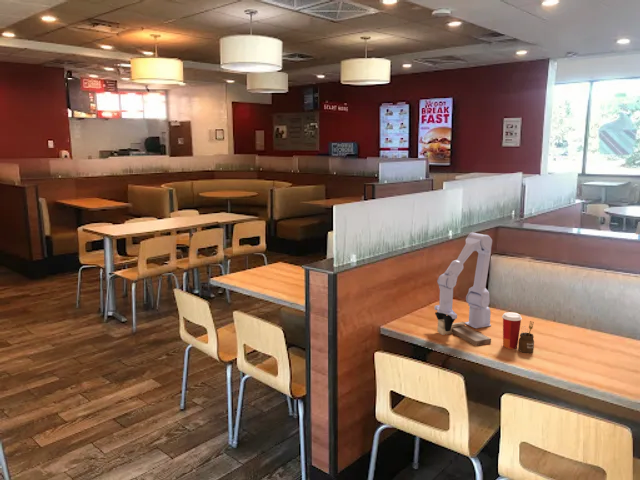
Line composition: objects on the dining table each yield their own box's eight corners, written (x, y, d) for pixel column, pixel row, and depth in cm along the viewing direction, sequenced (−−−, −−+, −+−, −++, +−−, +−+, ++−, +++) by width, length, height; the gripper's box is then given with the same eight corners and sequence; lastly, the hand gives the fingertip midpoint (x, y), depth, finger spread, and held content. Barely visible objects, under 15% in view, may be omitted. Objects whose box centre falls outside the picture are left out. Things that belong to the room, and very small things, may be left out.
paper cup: (520, 344, 217) (522, 313, 215) (519, 351, 211) (521, 318, 208) (501, 341, 221) (503, 310, 218) (499, 348, 214) (501, 316, 211)
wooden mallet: (461, 328, 238) (461, 316, 236) (466, 331, 234) (467, 318, 233) (437, 332, 233) (437, 319, 232) (442, 335, 229) (443, 322, 228)
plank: (459, 326, 240) (459, 322, 239) (490, 343, 219) (491, 338, 219) (445, 328, 237) (445, 324, 236) (475, 345, 216) (475, 341, 216)
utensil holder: (515, 350, 212) (517, 322, 210) (523, 346, 215) (525, 319, 213) (528, 354, 207) (530, 326, 205) (536, 350, 211) (538, 323, 209)
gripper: (429, 297, 234) (428, 325, 237) (448, 306, 221) (446, 335, 224) (442, 295, 237) (441, 323, 239) (461, 304, 224) (460, 333, 226)
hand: (444, 329), depth 232 cm, fingers open, 4 cm apart
